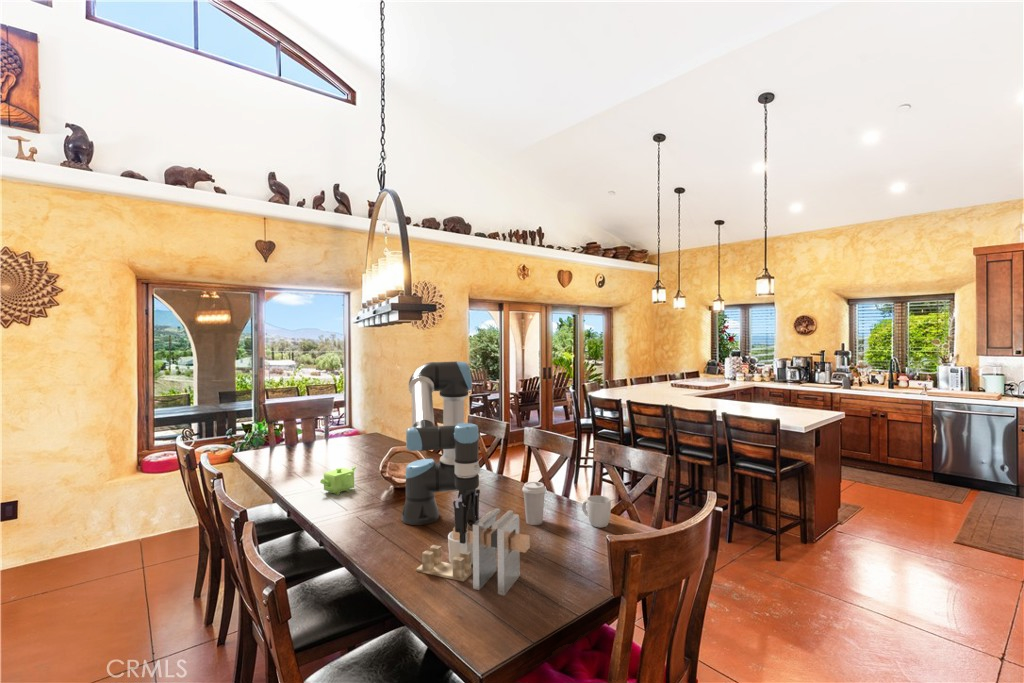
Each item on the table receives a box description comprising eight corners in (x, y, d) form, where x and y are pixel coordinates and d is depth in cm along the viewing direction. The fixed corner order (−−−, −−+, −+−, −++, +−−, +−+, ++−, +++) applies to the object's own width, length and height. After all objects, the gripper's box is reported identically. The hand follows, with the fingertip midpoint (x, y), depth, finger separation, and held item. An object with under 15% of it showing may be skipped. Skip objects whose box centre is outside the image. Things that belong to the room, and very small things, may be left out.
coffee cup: (544, 527, 181) (544, 489, 181) (520, 525, 183) (520, 487, 183) (547, 518, 191) (547, 481, 191) (524, 516, 193) (524, 480, 193)
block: (453, 539, 145) (452, 527, 145) (459, 535, 148) (458, 523, 148) (525, 553, 136) (525, 540, 136) (529, 547, 139) (529, 535, 139)
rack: (416, 571, 148) (416, 552, 148) (428, 561, 155) (428, 543, 155) (463, 581, 142) (463, 561, 142) (474, 570, 148) (474, 552, 148)
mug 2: (615, 524, 183) (615, 499, 183) (601, 531, 178) (600, 505, 177) (590, 515, 193) (589, 491, 193) (575, 521, 187) (575, 496, 187)
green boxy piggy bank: (357, 485, 235) (357, 463, 235) (353, 495, 221) (353, 471, 221) (326, 487, 232) (325, 465, 232) (320, 497, 218) (319, 473, 218)
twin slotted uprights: (473, 588, 138) (472, 521, 137) (490, 569, 149) (490, 507, 149) (504, 595, 134) (503, 526, 134) (519, 575, 145) (519, 511, 145)
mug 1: (466, 569, 149) (466, 544, 149) (441, 561, 155) (441, 537, 155) (490, 553, 160) (490, 529, 160) (466, 546, 166) (466, 523, 166)
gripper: (464, 483, 136) (465, 563, 136) (489, 468, 151) (489, 540, 151) (442, 480, 139) (443, 559, 139) (468, 466, 154) (469, 536, 154)
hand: (467, 549), depth 145 cm, fingers closed on block, 4 cm apart
